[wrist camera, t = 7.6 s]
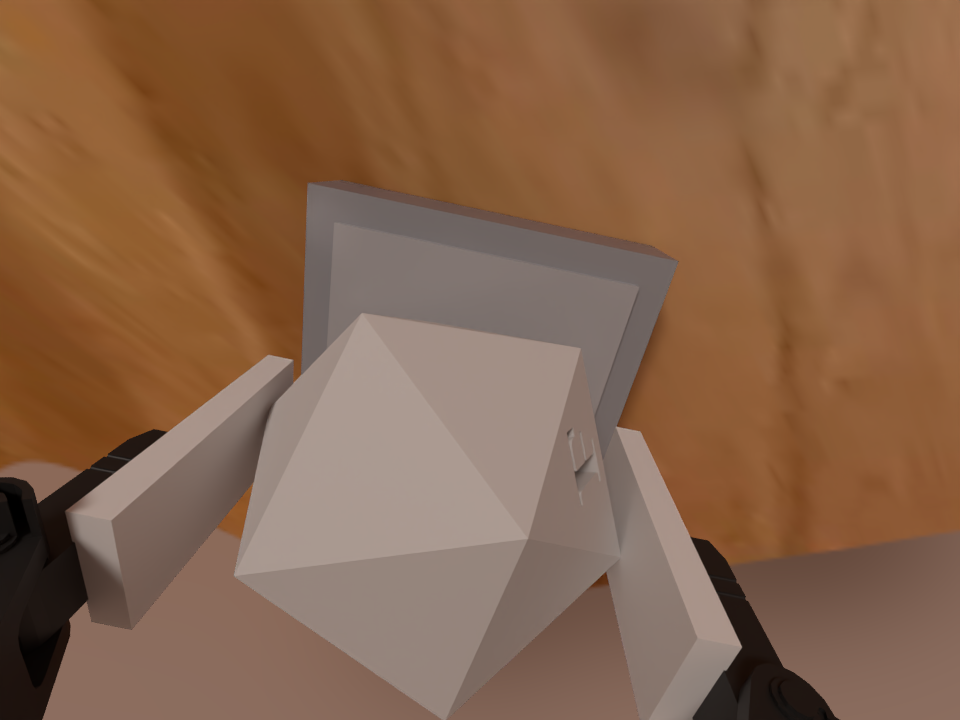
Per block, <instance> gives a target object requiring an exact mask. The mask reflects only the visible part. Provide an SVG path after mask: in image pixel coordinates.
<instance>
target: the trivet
mask: <svg viewBox="0 0 960 720" xmlns="http://www.w3.org/2000/svg"><path fill="white" fill-rule="evenodd" d="M678 262H679V261H677V260H675V259H674V258H672V257H670V256H668V255H667V254H665V253H663V252H662V251H660V250H658V249H656V248H655V247H653V246H650V245H645V244H640V243H636V242H631V241H626V240H621V239H617V238H612V237H607V236H603V235H598V234H593V233H588V232H584V231H579V230H574V229H569V228H565V227H560V226H555V225H551V224H546V223H541V222H536V221H532V220H527V219H522V218H518V217H513V216H508V215H503V214H499V213H494V212H489V211H485V210H480V209H475V208H470V207H466V206H461V205H456V204H451V203H447V202H442V201H437V200H433V199H428V198H423V197H418V196H414V195H409V194H404V193H400V192H395V191H390V190H385V189H381V188H376V187H371V186H367V185H362V184H357V183H352V182H348V181H343V180H338V181H326V182H313V183H308V193H307V222H306V252H305V281H304V311H303V340H302V370H301V375H302V374H303V373H304V372H305V371H306V370H307V369H308V368H309V367H310V366H311V365H312V364H313V363H314V362H315V361H316V360H317V359H318V358H319V357H320V356H321V355H322V354H323V353H324V351H325V350H326V349H327V348H328V347H329V346H330V345H331V344H332V343H333V342H334V341H335V340H336V339H337V338H338V337H339V336H340V335H341V334H342V333H343V332H344V331H345V330H346V329H347V328H348V327H349V326H350V325H351V324H352V323H353V322H354V321H355V320H356V319H357V317H358V316H359V315H360V314H361V313H366V314H373V315H381V316H389V317H397V318H405V319H413V320H421V321H429V322H435V323H440V324H446V325H452V326H457V327H463V328H469V329H474V330H480V331H486V332H491V333H497V334H503V335H508V336H514V337H520V338H525V339H531V340H537V341H543V342H548V343H554V344H560V345H565V346H571V347H577V348H581V351H582V356H583V362H584V367H585V372H586V377H587V382H588V387H589V393H590V398H591V403H592V408H593V413H594V418H595V424H596V429H597V434H598V439H599V444H600V450H601V455H602V460H603V459H604V457H605V454H606V451H607V449H608V446H609V443H610V441H611V438H612V435H613V433H614V430H615V427H617V424H618V421H619V419H620V416H621V413H622V411H623V408H624V405H625V403H626V400H627V397H628V395H629V392H630V389H631V387H632V384H633V381H634V379H635V376H636V373H637V371H638V368H639V365H640V363H641V360H642V357H643V355H644V352H645V349H646V347H647V344H648V341H649V339H650V336H651V333H652V331H653V328H654V325H655V323H656V320H657V317H658V315H659V312H660V309H661V307H662V304H663V302H664V299H665V296H666V294H667V291H668V288H669V286H670V283H671V280H672V278H673V275H674V272H675V270H676V267H677V264H678Z"/></svg>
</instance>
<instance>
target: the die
mask: <svg viewBox="0 0 960 720" xmlns="http://www.w3.org/2000/svg"><path fill="white" fill-rule="evenodd" d="M620 557H621V553H620V548H619V543H618V537H617V532H616V527H615V522H614V517H613V512H612V506H611V501H610V496H609V491H608V486H607V481H606V475H605V470H604V465H603V460H602V455H601V450H600V444H599V439H598V434H597V429H596V424H595V418H594V413H593V408H592V403H591V398H590V393H589V387H588V382H587V377H586V372H585V367H584V362H583V356H582V351H581V348H577V347H571V346H565V345H560V344H554V343H548V342H543V341H537V340H531V339H525V338H520V337H514V336H508V335H503V334H497V333H491V332H486V331H480V330H474V329H469V328H463V327H457V326H452V325H446V324H440V323H435V322H429V321H421V320H413V319H405V318H397V317H389V316H381V315H373V314H366V313H361V314H360V315H359V316H358V317H357V319H356V320H355V321H354V322H353V323H352V324H351V325H350V326H349V327H348V328H347V329H346V330H345V331H344V332H343V333H342V334H341V335H340V336H339V337H338V338H337V339H336V340H335V341H334V342H333V343H332V344H331V345H330V346H329V347H328V348H327V349H326V350H325V351H324V353H323V354H322V355H321V356H320V357H319V358H318V359H317V360H316V361H315V362H314V363H313V364H312V365H311V366H310V367H309V368H308V369H307V370H306V371H305V372H304V373H303V374H302V375H301V376H300V377H299V378H298V379H297V380H296V381H295V382H294V383H293V384H292V385H291V387H290V388H289V389H288V390H287V391H286V392H285V393H284V394H283V395H282V396H281V397H280V398H279V399H278V400H277V401H276V402H275V403H274V404H273V405H272V406H271V407H270V410H269V413H268V418H267V423H266V427H265V432H264V437H263V441H262V446H261V451H260V455H259V460H258V465H257V469H256V474H255V479H254V483H253V488H252V493H251V497H250V502H249V507H248V511H247V516H246V521H245V525H244V530H243V535H242V540H241V545H240V549H239V554H238V558H237V563H236V568H235V572H234V577H236V578H237V579H239V580H240V581H242V582H243V583H245V584H246V585H247V586H249V587H250V588H252V589H253V590H255V591H256V592H258V593H259V594H260V595H262V596H263V597H265V598H266V599H268V600H269V601H271V602H272V603H273V604H275V605H276V606H278V607H280V608H281V609H282V610H284V611H285V612H287V613H288V614H290V615H291V616H292V617H294V618H295V619H297V620H298V621H300V622H301V623H303V624H304V625H306V626H307V627H308V628H310V629H311V630H313V631H314V632H316V633H317V634H318V635H320V636H322V637H323V638H324V639H326V640H327V641H329V642H330V643H332V644H333V645H335V646H336V647H337V648H339V649H340V650H342V651H343V652H345V653H346V654H348V655H349V656H350V657H352V658H353V659H355V660H356V661H358V662H359V663H361V664H362V665H364V666H365V667H366V668H368V669H369V670H371V671H372V672H374V673H375V674H377V675H378V676H380V677H381V678H383V679H384V680H385V681H387V682H388V683H390V684H391V685H393V686H394V687H396V688H397V689H398V690H400V691H401V692H403V693H404V694H406V695H407V696H409V697H410V698H411V699H413V700H414V701H416V702H417V703H419V704H420V705H422V706H423V707H425V708H426V709H427V710H429V711H430V712H432V713H433V714H435V715H436V716H438V717H439V718H440V719H442V720H447V719H448V718H449V717H450V716H451V715H452V714H453V713H454V712H455V711H456V710H458V709H459V708H460V707H461V706H462V705H463V704H464V703H465V702H466V701H467V700H469V698H471V697H472V696H473V695H474V694H475V693H476V692H477V691H478V690H479V689H480V688H481V687H483V686H484V684H486V683H487V682H488V681H489V680H490V679H491V678H492V677H493V676H494V675H495V674H496V673H498V672H499V671H500V670H501V669H502V668H503V667H504V666H505V665H506V664H507V663H508V662H509V661H510V660H512V659H513V658H514V657H515V656H516V655H517V654H518V653H519V652H520V651H521V650H522V649H523V648H524V647H525V646H527V645H528V644H529V643H530V642H531V641H532V640H533V639H534V638H535V637H536V636H537V635H538V634H539V633H541V632H542V631H543V630H544V629H545V628H546V627H547V626H548V625H549V624H550V623H551V622H552V621H553V620H555V618H557V617H558V616H559V615H560V614H561V613H562V612H563V611H564V610H565V609H566V608H567V607H568V606H570V605H571V604H572V603H573V602H574V601H575V600H576V599H577V598H578V597H579V596H580V595H581V594H582V593H584V592H585V591H586V590H587V589H588V588H589V587H590V586H591V585H592V584H593V583H594V582H595V581H596V580H597V579H599V578H600V577H601V576H602V575H603V574H604V573H605V572H606V571H607V570H608V569H609V568H610V567H611V566H613V565H614V564H615V563H616V562H617V561H618V560H619V559H620Z"/></svg>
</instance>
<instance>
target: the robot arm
mask: <svg viewBox="0 0 960 720" xmlns="http://www.w3.org/2000/svg"><path fill="white" fill-rule="evenodd" d="M293 361H294V360H291V359H286V358H281V357H276V356H271V355H268V356H266V357H265V358H264V359H262V360H261V361H260V362H259V363H257V364H256V365H255V366H253V367H252V368H251V369H249V370H248V371H247V372H246V373H244V374H243V375H242V376H240V377H239V378H238V379H236V380H235V381H234V382H233V383H231V384H230V385H229V386H227V387H226V388H225V389H223V390H222V391H221V392H219V393H218V394H217V395H216V396H214V397H213V398H212V399H210V400H209V401H208V402H206V403H205V404H204V405H203V406H201V407H200V408H199V409H197V410H196V411H195V412H193V413H192V414H191V415H190V416H188V417H187V418H186V419H184V420H183V421H182V422H180V423H179V424H178V425H177V426H175V427H174V428H173V429H171V430H170V431H169V432H165V431H160V430H155V429H153V430H151V431H148V432H146V433H143V434H141V435H138V436H136V437H133V438H131V439H129V440H127V441H126V442H124V443H123V444H121V445H120V446H118V447H117V448H116V449H114V450H113V451H111V452H110V453H109V454H108V456H107V457H103V458H102V459H100V460H99V461H97V462H96V463H95V464H93V465H92V466H91V468H90V469H86V470H85V471H83V472H82V473H80V474H79V475H78V476H76V477H75V478H74V479H72V480H71V481H69V482H68V483H66V484H65V485H63V486H62V487H61V488H59V489H58V490H57V491H55V492H54V493H52V494H51V495H49V496H48V497H47V498H45V499H44V500H42V501H41V502H40V503H38V504H37V500H36V497H35V493H34V489H33V488H32V487H31V486H30V484H29V483H28V482H27V481H24V480H20V479H17V478H12V477H8V478H7V477H5V478H3V477H2V478H0V720H42V719H43V716H44V713H45V710H46V707H47V704H48V701H49V698H50V695H51V692H52V688H53V685H54V683H55V680H56V677H57V673H58V671H59V668H60V664H61V661H62V658H63V655H64V652H65V649H66V646H67V643H68V640H69V637H70V622H69V619H70V618H71V617H72V616H73V614H74V613H75V612H76V611H77V610H78V609H79V608H80V607H81V606H82V605H83V604H84V603H85V602H86V601H87V604H88V608H89V613H90V617H91V621H92V622H95V623H100V624H105V625H110V626H115V627H120V628H125V629H131V630H132V629H133V628H134V627H135V625H136V624H137V623H138V622H139V620H140V619H141V618H142V617H143V615H144V614H145V613H146V612H147V611H148V609H149V608H150V607H151V606H152V605H153V604H154V602H155V601H156V600H157V599H158V597H159V596H160V595H161V594H162V593H163V591H164V590H165V589H166V587H167V586H168V585H169V584H170V583H171V582H172V580H173V579H174V578H175V577H176V575H177V574H178V573H179V572H180V571H181V570H182V568H183V567H184V566H185V564H186V563H187V562H188V561H189V560H190V559H191V557H192V556H193V555H194V554H195V553H196V551H197V550H198V549H199V548H200V546H201V545H202V544H203V543H204V542H205V540H206V539H207V538H208V537H209V536H210V534H211V533H212V532H213V531H214V530H215V528H216V527H217V526H218V525H219V523H220V522H221V521H222V520H223V519H224V517H225V516H226V515H227V514H228V513H229V511H230V510H231V509H232V508H233V506H234V505H235V504H236V503H237V502H238V500H239V499H240V498H241V497H242V496H243V494H244V493H245V492H246V491H247V489H248V488H249V487H250V486H251V485H252V483H253V482H254V479H255V474H256V469H257V465H258V460H259V455H260V451H261V446H262V441H263V437H264V432H265V427H266V423H267V418H268V413H269V410H270V407H271V406H272V405H273V404H274V403H275V402H276V401H277V400H278V399H279V398H280V397H281V396H282V395H283V394H284V393H285V392H286V391H287V390H288V389H289V388H290V387H291V385H292V384H293ZM603 465H604V470H605V475H606V481H607V486H608V491H609V496H610V501H611V506H612V512H613V517H614V522H615V527H616V532H617V537H618V543H619V548H620V553H621V557H620V559H619V560H618V561H617V562H616V563H615V564H614V565H613V566H611V567H610V568H609V569H608V570H607V571H606V573H607V577H608V582H609V586H610V590H611V595H612V599H613V604H614V608H615V613H616V617H617V622H618V626H619V630H620V634H621V639H622V644H623V648H624V652H625V657H626V661H627V666H628V670H629V675H630V679H631V684H632V688H633V692H634V697H635V701H636V706H637V710H638V715H639V719H640V720H839V719H838V718H836V717H835V716H834V714H833V713H832V711H831V710H830V708H829V706H828V705H827V703H826V702H825V700H824V699H823V698H822V697H821V696H820V695H819V694H818V693H817V692H816V691H815V689H814V688H813V687H812V686H811V685H810V684H808V683H807V682H806V681H805V680H803V679H802V678H800V677H799V676H798V675H796V674H795V673H794V672H792V671H790V670H787V669H785V668H784V667H783V666H782V664H781V662H780V660H779V658H778V656H777V654H776V652H775V650H774V649H773V647H772V645H771V643H770V641H769V639H768V638H767V636H766V634H765V632H764V630H763V628H762V626H761V624H760V622H759V621H758V619H757V617H756V615H755V613H754V611H753V609H752V608H751V606H750V604H749V602H748V601H746V600H745V597H746V596H745V594H744V593H743V591H742V589H741V587H740V585H739V584H737V583H736V578H735V576H734V574H733V572H732V570H731V568H730V566H729V565H728V563H727V561H726V559H725V558H724V557H723V556H722V555H721V554H720V553H719V552H718V551H717V550H716V548H715V547H714V546H713V545H712V544H711V543H710V542H709V541H707V540H702V539H698V538H693V537H690V536H689V534H688V531H687V529H686V527H685V525H684V523H683V521H682V519H681V517H680V514H679V512H678V510H677V508H676V506H675V504H674V502H673V500H672V498H671V495H670V493H669V491H668V489H667V487H666V485H665V483H664V481H663V478H662V476H661V474H660V472H659V470H658V468H657V466H656V464H655V462H654V459H653V457H652V455H651V453H650V451H649V449H648V447H647V445H646V442H645V440H644V438H643V436H642V434H641V432H640V431H635V430H630V429H625V428H620V427H615V430H614V433H613V435H612V438H611V441H610V443H609V446H608V449H607V451H606V454H605V457H604V459H603Z"/></svg>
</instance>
